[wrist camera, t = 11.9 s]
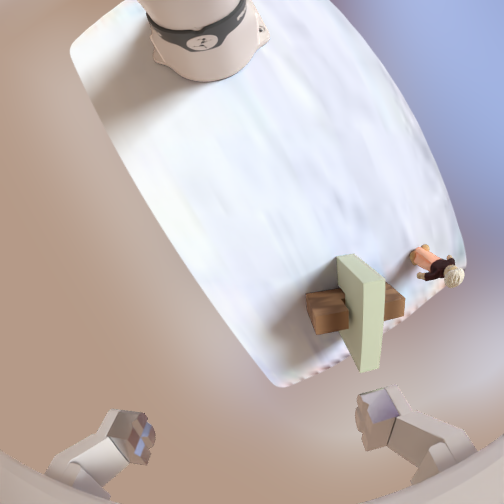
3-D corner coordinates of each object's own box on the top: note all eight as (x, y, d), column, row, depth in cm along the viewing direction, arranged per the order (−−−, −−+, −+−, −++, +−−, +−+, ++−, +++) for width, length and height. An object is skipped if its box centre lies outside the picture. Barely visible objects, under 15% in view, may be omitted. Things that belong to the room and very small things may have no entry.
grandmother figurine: (428, 234, 41) (473, 253, 29) (435, 252, 42) (478, 274, 30) (397, 259, 42) (438, 285, 30) (405, 276, 43) (444, 305, 31)
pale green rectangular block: (336, 256, 42) (363, 283, 31) (353, 253, 42) (385, 279, 31) (339, 332, 46) (359, 373, 34) (354, 328, 46) (378, 368, 34)
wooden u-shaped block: (307, 310, 45) (316, 334, 37) (305, 293, 44) (315, 316, 36) (383, 295, 44) (403, 315, 36) (383, 279, 43) (405, 298, 36)
